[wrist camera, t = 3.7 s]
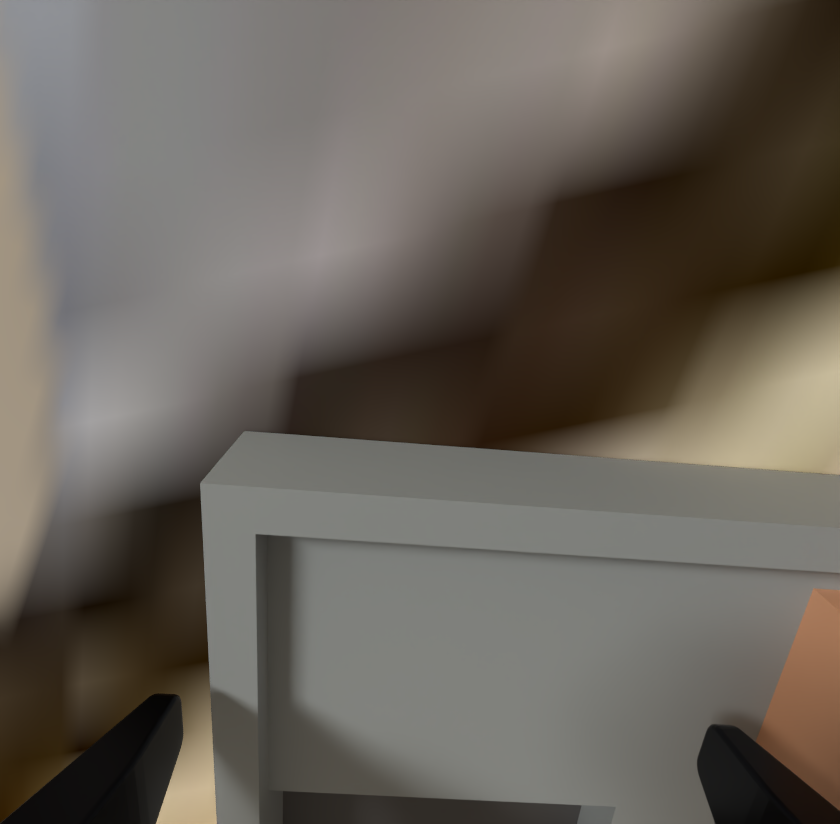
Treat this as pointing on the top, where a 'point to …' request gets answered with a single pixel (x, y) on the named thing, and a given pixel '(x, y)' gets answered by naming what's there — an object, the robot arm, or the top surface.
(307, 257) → the top surface
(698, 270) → the top surface
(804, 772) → the block
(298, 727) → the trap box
